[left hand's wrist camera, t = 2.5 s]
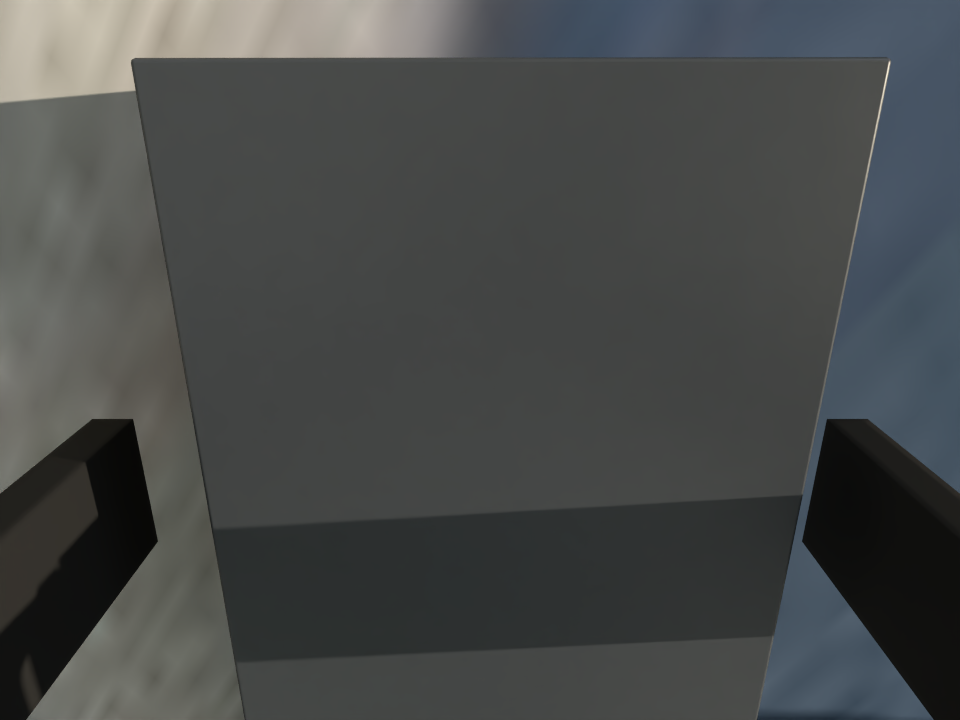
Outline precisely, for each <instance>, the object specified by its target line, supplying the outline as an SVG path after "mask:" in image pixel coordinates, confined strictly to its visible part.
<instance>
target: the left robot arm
mask: <svg viewBox="0 0 960 720" xmlns="http://www.w3.org/2000/svg"><path fill="white" fill-rule="evenodd" d="M157 542H158V540H157V535H156V530H155V525H154V520H153V515H152V510H151V505H150V500H149V495H148V490H147V486H146V481H145V476H144V471H143V466H142V461H141V456H140V451H139V446H138V441H137V436H136V432H135V427H134V422H133V419H92V420H91V421H90V422H88V423H87V424H86V425H85V426H83V427H82V428H81V429H80V430H78V431H77V432H76V433H75V434H73V435H72V436H71V437H70V438H69V439H67V440H66V441H65V442H64V443H62V444H61V445H60V446H59V447H57V448H56V449H55V450H54V451H52V452H51V453H50V454H49V455H48V456H46V457H45V458H44V459H43V460H41V461H40V462H39V463H38V464H36V465H35V466H34V467H33V468H31V469H30V470H29V471H28V472H27V473H25V474H24V475H23V476H22V477H20V478H19V479H18V480H17V481H15V482H14V483H13V484H12V485H10V486H9V487H8V488H7V489H6V490H4V491H3V492H2V493H1V494H0V720H26V719H27V718H28V716H29V715H30V714H31V712H32V711H33V710H34V708H35V707H36V706H37V704H38V703H39V702H40V700H41V699H42V698H43V696H44V695H45V693H46V692H47V691H48V689H49V688H50V687H51V685H52V684H53V683H54V681H55V680H56V679H57V677H58V676H59V675H60V673H61V672H62V670H63V669H64V668H65V666H66V665H67V664H68V662H69V661H70V660H71V658H72V657H73V656H74V654H75V653H76V652H77V650H78V649H79V647H80V646H81V645H82V643H83V642H84V641H85V639H86V638H87V637H88V635H89V634H90V633H91V631H92V630H93V628H94V627H95V626H96V624H97V623H98V622H99V620H100V619H101V618H102V616H103V615H104V614H105V612H106V611H107V610H108V608H109V607H110V605H111V604H112V603H113V601H114V600H115V599H116V597H117V596H118V595H119V593H120V592H121V591H122V589H123V588H124V587H125V585H126V584H127V582H128V581H129V580H130V578H131V577H132V576H133V574H134V573H135V572H136V570H137V569H138V568H139V566H140V565H141V564H142V562H143V561H144V559H145V558H146V557H147V555H148V554H149V553H150V551H151V550H152V549H153V547H154V546H155V545H156V543H157ZM802 542H803V543H804V545H805V546H806V547H807V549H808V550H809V551H810V553H811V554H812V555H813V557H814V558H815V559H816V561H817V562H818V564H819V565H820V566H821V568H822V569H823V570H824V572H825V573H826V574H827V576H828V577H829V578H830V580H831V581H832V582H833V584H834V585H835V587H836V588H837V589H838V591H839V592H840V593H841V595H842V596H843V597H844V599H845V600H846V601H847V603H848V604H849V605H850V607H851V608H852V610H853V611H854V612H855V614H856V615H857V616H858V618H859V619H860V620H861V622H862V623H863V624H864V626H865V627H866V629H867V630H868V631H869V633H870V634H871V635H872V637H873V638H874V639H875V641H876V642H877V643H878V645H879V646H880V647H881V649H882V650H883V652H884V653H885V654H886V656H887V657H888V658H889V660H890V661H891V662H892V664H893V665H894V666H895V668H896V669H897V670H898V672H899V673H900V675H901V676H902V677H903V679H904V680H905V681H906V683H907V684H908V685H909V687H910V688H911V689H912V691H913V692H914V693H915V695H916V696H917V698H918V699H919V700H920V702H921V703H922V704H923V706H924V707H925V708H926V710H927V711H928V712H929V714H930V715H931V716H932V718H933V719H934V720H960V494H959V493H958V492H957V491H956V490H954V489H953V488H952V487H951V486H950V485H948V484H947V483H946V482H945V481H943V480H942V479H941V478H940V477H938V476H937V475H936V474H935V473H933V472H932V471H931V470H930V469H929V468H927V467H926V466H925V465H924V464H922V463H921V462H920V461H919V460H917V459H916V458H915V457H914V456H912V455H911V454H910V453H909V452H908V451H906V450H905V449H904V448H903V447H901V446H900V445H899V444H898V443H896V442H895V441H894V440H893V439H891V438H890V437H889V436H888V435H887V434H885V433H884V432H883V431H882V430H880V429H879V428H878V427H877V426H875V425H874V424H873V423H872V422H870V421H869V420H868V419H827V422H826V427H825V432H824V436H823V441H822V446H821V451H820V456H819V461H818V466H817V471H816V476H815V481H814V486H813V490H812V495H811V500H810V505H809V510H808V515H807V520H806V525H805V530H804V535H803V540H802Z"/></svg>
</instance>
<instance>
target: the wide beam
mask: <svg viewBox="0 0 960 720" xmlns="http://www.w3.org/2000/svg"><path fill="white" fill-rule="evenodd" d="M890 64H891V60H890V59H889V58H887V57H715V58H134V59H132V60H131V66H132V71H133V77H134V83H135V89H136V94H137V100H138V106H139V112H140V117H141V123H142V129H143V135H144V141H145V146H146V152H147V158H148V164H149V169H150V175H151V181H152V187H153V192H154V198H155V204H156V210H157V216H158V221H159V227H160V233H161V239H162V244H163V250H164V256H165V262H166V267H167V273H168V279H169V285H170V290H171V296H172V302H173V308H174V314H175V319H176V325H177V331H178V337H179V342H180V348H181V354H182V360H183V365H184V371H185V377H186V383H187V388H188V394H189V400H190V406H191V412H192V417H193V423H194V429H195V435H196V440H197V446H198V452H199V458H200V463H201V469H202V475H203V481H204V487H205V492H206V498H207V504H208V510H209V515H210V521H211V527H212V533H213V538H214V544H215V550H216V556H217V561H218V567H219V573H220V579H221V585H222V590H223V596H224V602H225V608H226V613H227V619H228V625H229V631H230V636H231V642H232V648H233V654H234V659H235V665H236V671H237V677H238V683H239V688H240V694H241V700H242V706H243V711H244V717H245V720H757V716H758V711H759V706H760V701H761V696H762V691H763V687H764V682H765V677H766V672H767V667H768V662H769V657H770V652H771V647H772V642H773V638H774V633H775V628H776V623H777V618H778V613H779V608H780V603H781V598H782V593H783V589H784V584H785V579H786V574H787V569H788V564H789V559H790V554H791V549H792V544H793V540H794V535H795V530H796V525H797V520H798V515H799V510H800V505H801V500H802V495H803V491H804V486H805V481H806V476H807V471H808V466H809V461H810V456H811V451H812V446H813V441H814V437H815V432H816V427H817V422H818V417H819V412H820V407H821V402H822V397H823V392H824V388H825V383H826V378H827V373H828V368H829V363H830V358H831V353H832V348H833V343H834V339H835V334H836V329H837V324H838V319H839V314H840V309H841V304H842V299H843V294H844V290H845V285H846V280H847V275H848V270H849V265H850V260H851V255H852V250H853V245H854V241H855V236H856V231H857V226H858V221H859V216H860V211H861V206H862V201H863V196H864V192H865V187H866V182H867V177H868V172H869V167H870V162H871V157H872V152H873V147H874V142H875V138H876V133H877V128H878V123H879V118H880V113H881V108H882V103H883V98H884V93H885V89H886V84H887V79H888V74H889V69H890Z"/></svg>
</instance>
